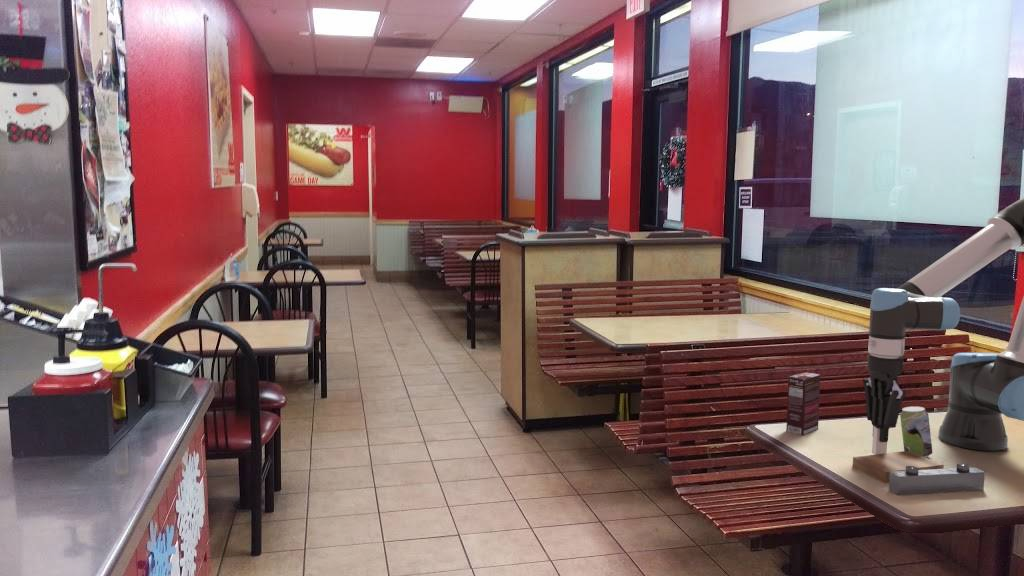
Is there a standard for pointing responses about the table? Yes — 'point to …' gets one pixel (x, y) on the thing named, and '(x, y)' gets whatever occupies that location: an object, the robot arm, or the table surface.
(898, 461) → the brown wooden board
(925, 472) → the stop bar
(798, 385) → the supplement box
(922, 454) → the beverage can
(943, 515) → the table surface
